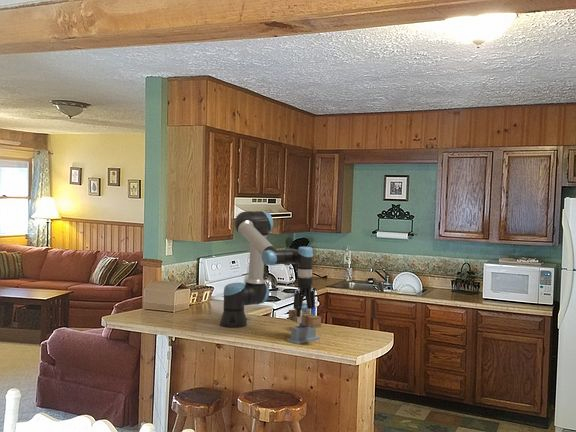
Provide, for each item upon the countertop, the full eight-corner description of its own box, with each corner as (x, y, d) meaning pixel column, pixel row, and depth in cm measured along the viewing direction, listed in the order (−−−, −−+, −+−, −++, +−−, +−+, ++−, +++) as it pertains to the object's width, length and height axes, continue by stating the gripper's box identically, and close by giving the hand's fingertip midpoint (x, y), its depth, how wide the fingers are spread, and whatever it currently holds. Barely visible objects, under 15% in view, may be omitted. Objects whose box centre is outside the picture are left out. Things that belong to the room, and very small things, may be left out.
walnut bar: (288, 319, 312) (288, 309, 312) (296, 318, 315) (296, 309, 315) (312, 328, 291) (312, 318, 291) (320, 327, 294) (321, 317, 294)
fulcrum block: (286, 341, 301) (287, 327, 301) (308, 336, 312) (309, 322, 312) (297, 344, 295) (298, 329, 295) (319, 339, 306) (320, 325, 306)
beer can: (305, 329, 329) (306, 300, 328) (317, 331, 323) (318, 302, 323) (296, 331, 322) (297, 302, 322) (308, 334, 317) (309, 304, 316)
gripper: (297, 279, 293) (296, 325, 294) (322, 276, 306) (321, 320, 307) (286, 277, 299) (285, 323, 299) (312, 274, 312) (311, 318, 312)
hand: (304, 321), depth 303 cm, fingers closed on walnut bar, 6 cm apart
